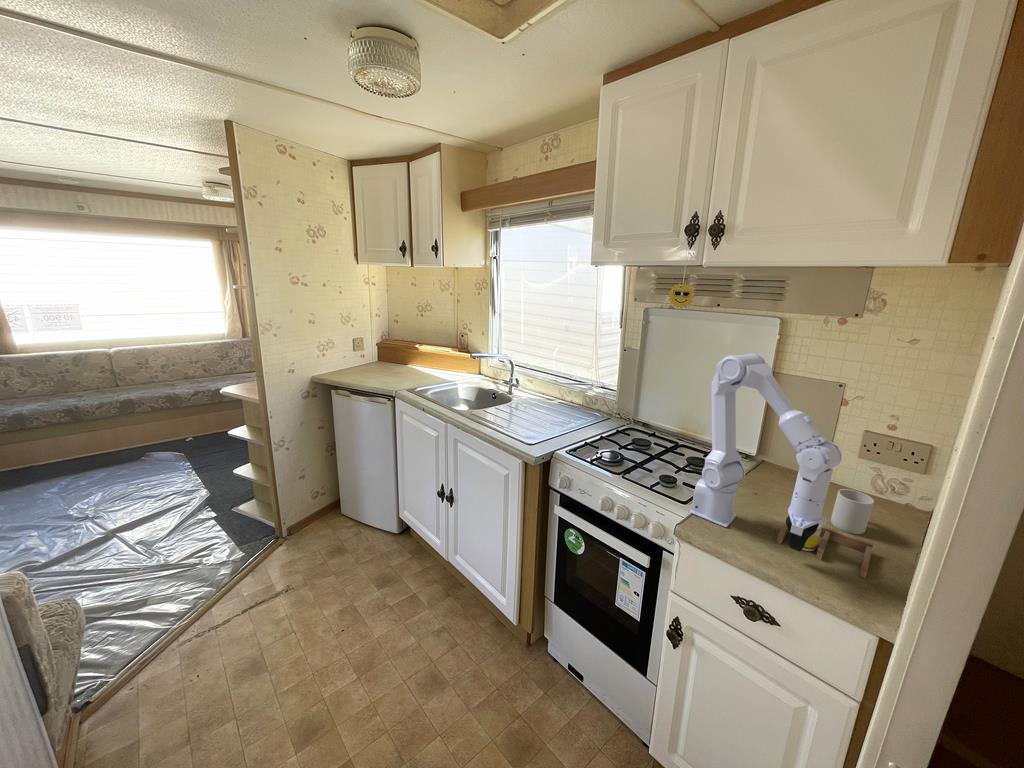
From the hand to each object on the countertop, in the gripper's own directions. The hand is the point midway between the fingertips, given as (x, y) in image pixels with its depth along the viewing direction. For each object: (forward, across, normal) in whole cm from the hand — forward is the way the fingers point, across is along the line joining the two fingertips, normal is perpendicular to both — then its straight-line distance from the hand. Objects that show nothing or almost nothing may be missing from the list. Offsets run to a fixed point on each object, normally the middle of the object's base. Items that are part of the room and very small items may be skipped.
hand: (795, 548), depth 95 cm
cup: (+3, +28, -7) cm, 29 cm away
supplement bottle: (+3, +9, 0) cm, 9 cm away
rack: (+3, +11, -4) cm, 12 cm away
